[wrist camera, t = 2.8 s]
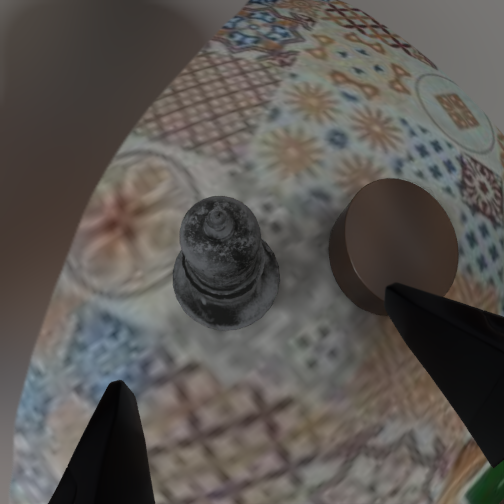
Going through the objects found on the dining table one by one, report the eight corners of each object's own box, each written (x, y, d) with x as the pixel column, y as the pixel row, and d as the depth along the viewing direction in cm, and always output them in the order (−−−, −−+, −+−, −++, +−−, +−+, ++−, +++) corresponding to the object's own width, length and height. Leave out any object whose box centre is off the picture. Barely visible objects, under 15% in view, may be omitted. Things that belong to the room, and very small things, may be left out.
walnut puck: (438, 223, 23) (461, 207, 19) (422, 329, 20) (449, 325, 17) (343, 183, 23) (358, 159, 20) (313, 293, 21) (328, 283, 17)
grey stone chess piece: (248, 230, 22) (261, 111, 10) (288, 307, 20) (354, 260, 9) (169, 266, 21) (99, 177, 9) (206, 347, 19) (163, 353, 8)
